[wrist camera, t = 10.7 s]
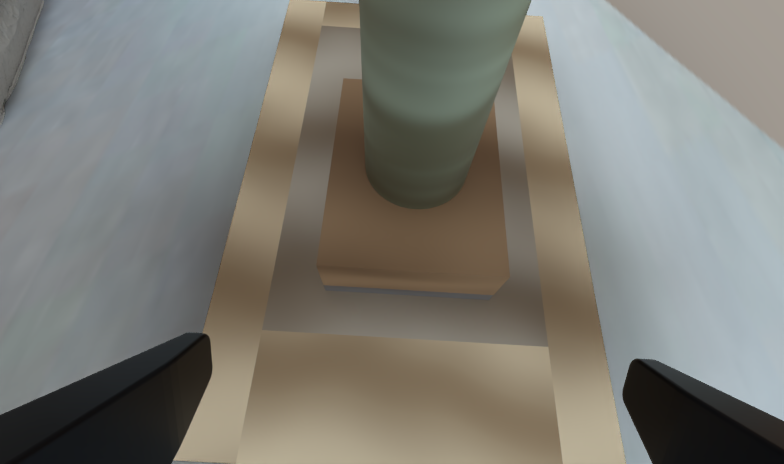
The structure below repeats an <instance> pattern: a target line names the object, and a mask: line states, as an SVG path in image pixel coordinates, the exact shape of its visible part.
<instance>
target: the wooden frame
mask: <svg viewBox="0 0 784 464" xmlns="http://www.w3.org/2000/svg"><path fill="white" fill-rule="evenodd" d="M343 78H348V79H362V65H361V39H360V12H359V4H353V3H339V2H324V1H310V0H290V2H289V5H288V9H287V13H286V17H285V21H284V24H283V28H282V32H281V36H280V40H279V43H278V47H277V51H276V55H275V59H274V62H273V66H272V70H271V74H270V78H269V81H268V85H267V89H266V93H265V97H264V100H263V104H262V108H261V112H260V116H259V120H258V123H257V127H256V131H255V135H254V139H253V142H252V146H251V150H250V154H249V158H248V161H247V165H246V169H245V173H244V177H243V180H242V184H241V188H240V192H239V196H238V199H237V203H236V207H235V211H234V215H233V218H232V222H231V226H230V230H229V234H228V237H227V241H226V245H225V249H224V253H223V256H222V260H221V264H220V268H219V272H218V275H217V279H216V283H215V287H214V291H213V294H212V298H211V302H210V306H209V310H208V313H207V317H206V321H205V325H204V329H203V332H202V333H205V334H207V335H208V336H209V338H210V342H211V354H212V365H213V369H212V375H211V379H210V381H209V383H208V386H207V388H206V390H205V393H204V395H203V397H202V399H201V402H200V404H199V406H198V408H197V411H196V413H195V415H194V417H193V420H192V422H191V424H190V427H189V429H188V431H187V433H186V436H185V438H184V440H183V442H182V444H181V446H180V448H179V450H178V452H177V454H176V456H175V458H174V459H173V460H176V461H195V462H213V463H232V464H626V460H625V455H624V449H623V444H622V439H621V433H620V428H619V423H618V417H617V412H616V407H615V401H614V396H613V391H612V385H611V380H610V375H609V369H608V364H607V359H606V353H605V348H604V342H603V337H602V332H601V326H600V321H599V316H598V310H597V305H596V300H595V294H594V289H593V284H592V278H591V273H590V268H589V262H588V257H587V251H586V246H585V241H584V235H583V230H582V225H581V219H580V214H579V209H578V203H577V198H576V193H575V187H574V182H573V177H572V171H571V166H570V160H569V155H568V150H567V144H566V139H565V134H564V128H563V123H562V118H561V112H560V107H559V102H558V96H557V91H556V86H555V80H554V75H553V69H552V64H551V59H550V53H549V48H548V43H547V37H546V32H545V27H544V21H543V17H541V16H525V19H524V22H523V24H522V27H521V30H520V33H519V35H518V38H517V41H516V43H515V46H514V49H513V52H512V54H511V57H510V60H509V62H508V65H507V68H506V71H505V73H504V76H503V79H502V81H501V84H500V87H499V90H498V92H497V95H496V98H495V100H494V104H495V116H496V127H497V138H498V149H499V160H500V171H501V182H502V193H503V204H504V216H505V227H506V238H507V249H508V260H509V271H510V278H509V279H508V280H507V281H506V282H505V283H504V284H503V285H502V286H501V287H500V289H499V290H498V291H497V292H496V293H495V294H494V295H493V296H492V297H491V298H490V299H489V300H479V299H462V298H445V297H429V296H412V295H395V294H378V293H361V292H344V291H327V290H325V288H324V285H323V282H322V280H321V277H320V274H319V272H318V269H317V266H316V263H317V256H318V249H319V243H320V236H321V229H322V222H323V215H324V208H325V201H326V194H327V187H328V181H329V174H330V167H331V160H332V153H333V146H334V139H335V132H336V125H337V118H338V112H339V105H340V98H341V91H342V84H343Z"/></svg>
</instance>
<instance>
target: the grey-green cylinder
mask: <svg viewBox="0 0 784 464" xmlns="http://www.w3.org/2000/svg"><path fill="white" fill-rule="evenodd" d="M530 3H531V0H359V12H360V39H361V65H362V79H348V78H343V84H342V91H341V98H340V105H339V112H338V118H337V125H336V132H335V139H334V146H333V153H332V160H331V167H330V174H329V181H328V187H327V194H326V201H325V208H324V215H323V222H322V229H321V236H320V243H319V249H318V256H317V263H316V266H317V269H318V272H319V274H320V277H321V280H322V282H323V285H324V288H325V290H327V291H344V292H361V293H378V294H395V295H412V296H429V297H445V298H462V299H479V300H489V299H490V298H491V297H492V296H493V295H494V294H495V293H496V292H497V291H498V290H499V289H500V287H501V286H502V285H503V284H504V283H505V282H506V281H507V280H508V279H509V278H510V271H509V260H508V249H507V238H506V227H505V216H504V204H503V193H502V182H501V171H500V160H499V149H498V138H497V127H496V116H495V104H494V100H495V98H496V95H497V92H498V90H499V87H500V84H501V81H502V79H503V76H504V73H505V71H506V68H507V65H508V62H509V60H510V57H511V54H512V52H513V49H514V46H515V43H516V41H517V38H518V35H519V33H520V30H521V27H522V24H523V22H524V19H525V16H526V14H527V11H528V8H529V5H530Z"/></svg>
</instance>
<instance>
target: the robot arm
mask: <svg viewBox="0 0 784 464" xmlns="http://www.w3.org/2000/svg"><path fill="white" fill-rule="evenodd" d="M212 369H213V365H212V354H211V342H210V338H209V336H208V335H207V334H205V333H185V334H183V335H181V336H179V337H176V338H174V339H172V340H170V341H167V342H165V343H163V344H160V345H158V346H156V347H154V348H151V349H149V350H147V351H145V352H142V353H140V354H138V355H136V356H133V357H131V358H129V359H126V360H124V361H122V362H120V363H117V364H115V365H113V366H111V367H108V368H106V369H104V370H102V371H99V372H97V373H95V374H92V375H90V376H88V377H86V378H83V379H81V380H79V381H77V382H74V383H72V384H70V385H68V386H65V387H63V388H61V389H58V390H56V391H54V392H52V393H49V394H47V395H45V396H43V397H40V398H38V399H36V400H33V401H31V402H29V403H27V404H24V405H22V406H20V407H18V408H15V409H13V410H11V411H9V412H6V413H4V414H2V415H0V464H171V463H172V461H173V459H174V458H175V456H176V454H177V452H178V450H179V448H180V446H181V444H182V442H183V440H184V438H185V436H186V433H187V431H188V429H189V427H190V424H191V422H192V420H193V417H194V415H195V413H196V411H197V408H198V406H199V404H200V402H201V399H202V397H203V395H204V393H205V390H206V388H207V386H208V383H209V381H210V379H211V375H212ZM623 400H624V403H625V406H626V408H627V410H628V412H629V414H630V416H631V419H632V421H633V423H634V425H635V427H636V429H637V431H638V433H639V436H640V438H641V440H642V442H643V444H644V446H645V448H646V451H647V453H648V455H649V457H650V459H651V461H652V463H653V464H784V421H782V420H780V419H778V418H776V417H774V416H772V415H770V414H768V413H766V412H764V411H761V410H759V409H757V408H755V407H753V406H751V405H749V404H747V403H745V402H743V401H740V400H738V399H736V398H734V397H732V396H730V395H728V394H726V393H724V392H722V391H720V390H717V389H715V388H713V387H711V386H709V385H707V384H705V383H703V382H701V381H699V380H696V379H694V378H692V377H690V376H688V375H686V374H684V373H682V372H680V371H678V370H675V369H673V368H671V367H669V366H667V365H665V364H663V363H661V362H659V361H656V360H652V359H634V360H633V361H632V362H631V364H630V366H629V370H628V373H627V377H626V380H625V384H624V387H623Z"/></svg>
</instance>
